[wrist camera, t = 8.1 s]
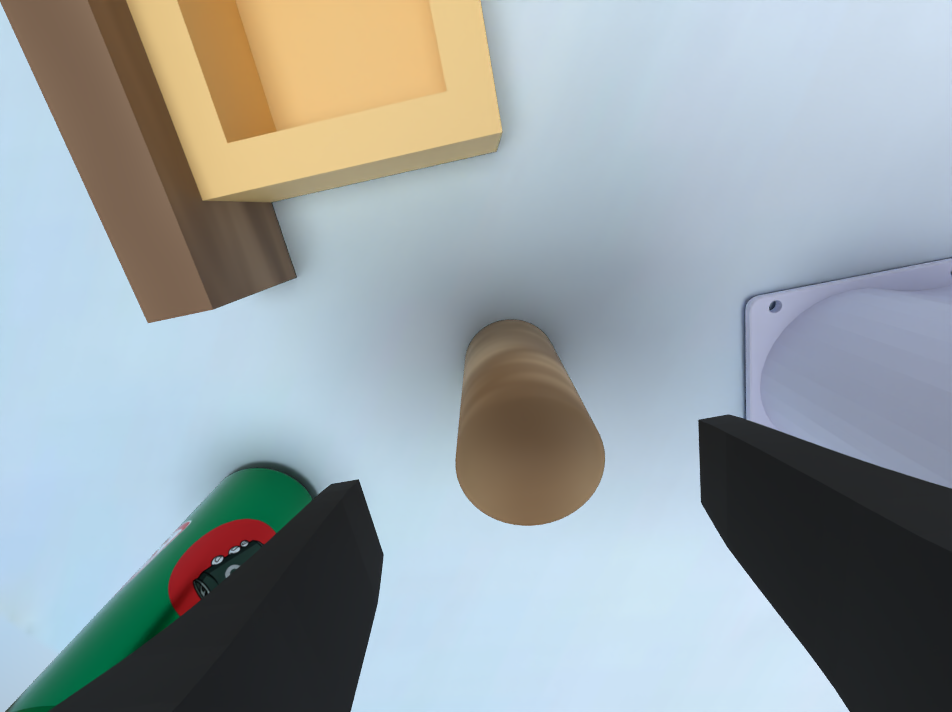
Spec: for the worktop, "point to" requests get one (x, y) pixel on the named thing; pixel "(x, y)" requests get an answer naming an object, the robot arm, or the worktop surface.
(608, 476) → the worktop surface
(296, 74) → the socket block
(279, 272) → the walnut wall
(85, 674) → the soda can
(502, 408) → the dowel
